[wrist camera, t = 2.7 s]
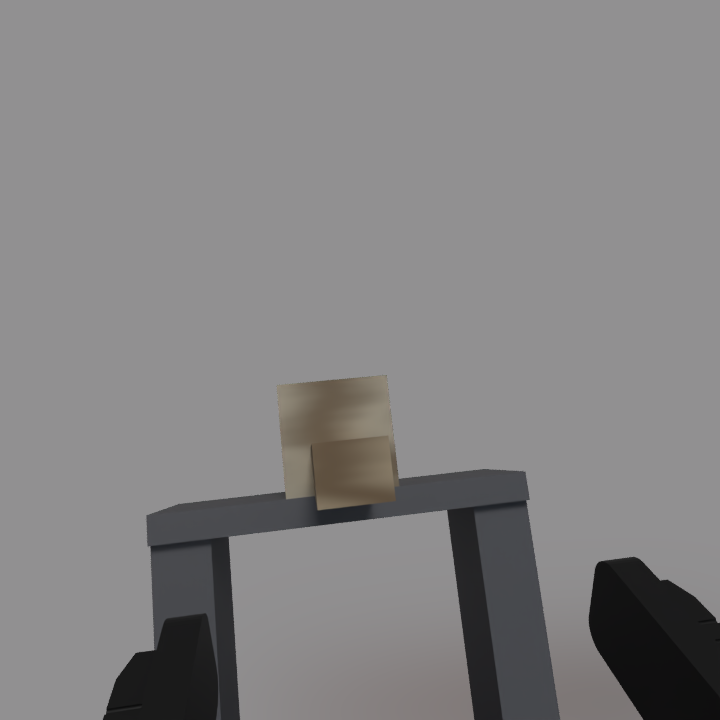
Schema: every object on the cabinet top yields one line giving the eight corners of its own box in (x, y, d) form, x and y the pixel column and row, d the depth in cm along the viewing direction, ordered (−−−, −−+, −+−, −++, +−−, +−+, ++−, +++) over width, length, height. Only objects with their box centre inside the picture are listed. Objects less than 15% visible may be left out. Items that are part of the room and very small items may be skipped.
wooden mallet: (383, 481, 34) (373, 388, 35) (434, 496, 21) (414, 344, 22) (289, 492, 34) (281, 397, 35) (277, 515, 20) (265, 357, 21)
